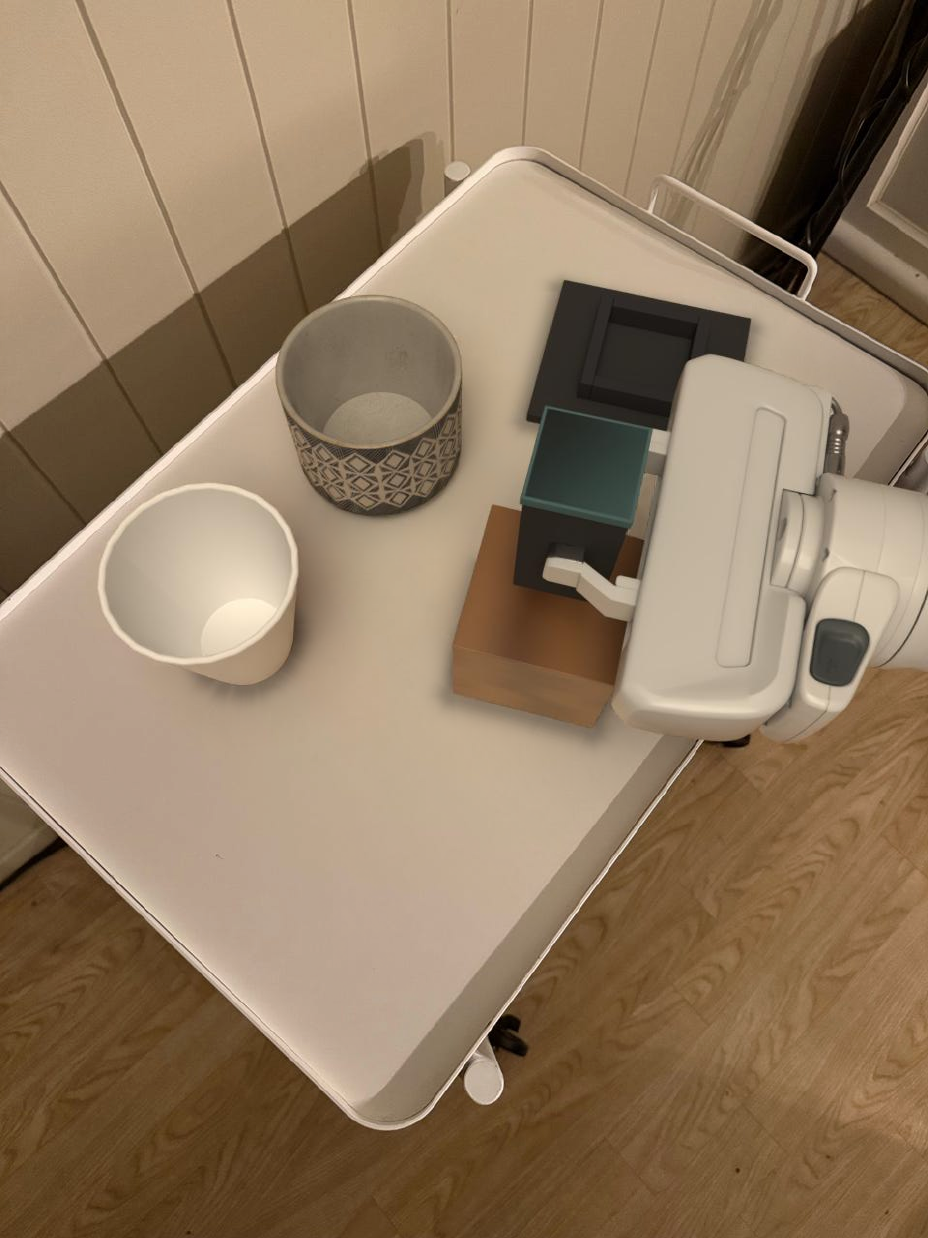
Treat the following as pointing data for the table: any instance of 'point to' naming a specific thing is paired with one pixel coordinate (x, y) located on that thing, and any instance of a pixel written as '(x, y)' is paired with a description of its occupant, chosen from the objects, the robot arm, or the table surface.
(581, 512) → the pad block
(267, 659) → the cup
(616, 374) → the base pad
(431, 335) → the planter
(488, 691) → the block
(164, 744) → the table surface
